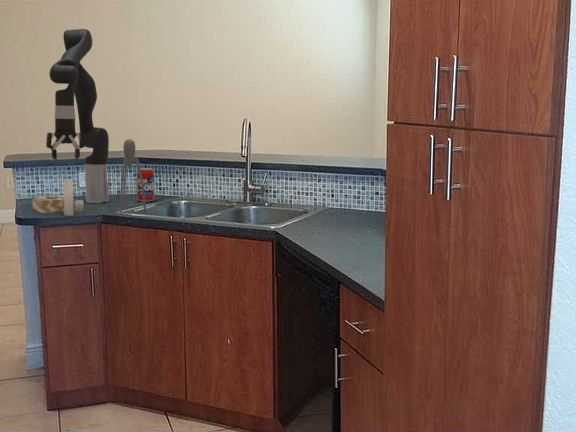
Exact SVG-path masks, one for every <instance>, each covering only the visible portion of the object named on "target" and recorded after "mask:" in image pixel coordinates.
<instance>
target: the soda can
mask: <svg viewBox="0 0 576 432" xmlns="http://www.w3.org/2000/svg"><path fill="white" fill-rule="evenodd" d="M140 169H141V173H142V179H143V185H144V192H145V203H152V202H153V201H155V171H154V169H153V168H149V167H140ZM136 200H137V201H138V202H140V201H141V202H140V203H143V193H142V186H141V181H140V176H139V171H138V170H137V171H136ZM151 201H152V202H151Z"/></svg>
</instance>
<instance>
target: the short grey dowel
mask: <svg viewBox="0 0 576 432" xmlns="http://www.w3.org/2000/svg"><path fill="white" fill-rule="evenodd" d="M73 204H74V213H84V211H85V209H84V208H85V207H84V206H85V205H84V200H81V199H80V200H79V199H75V200H73Z"/></svg>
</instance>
